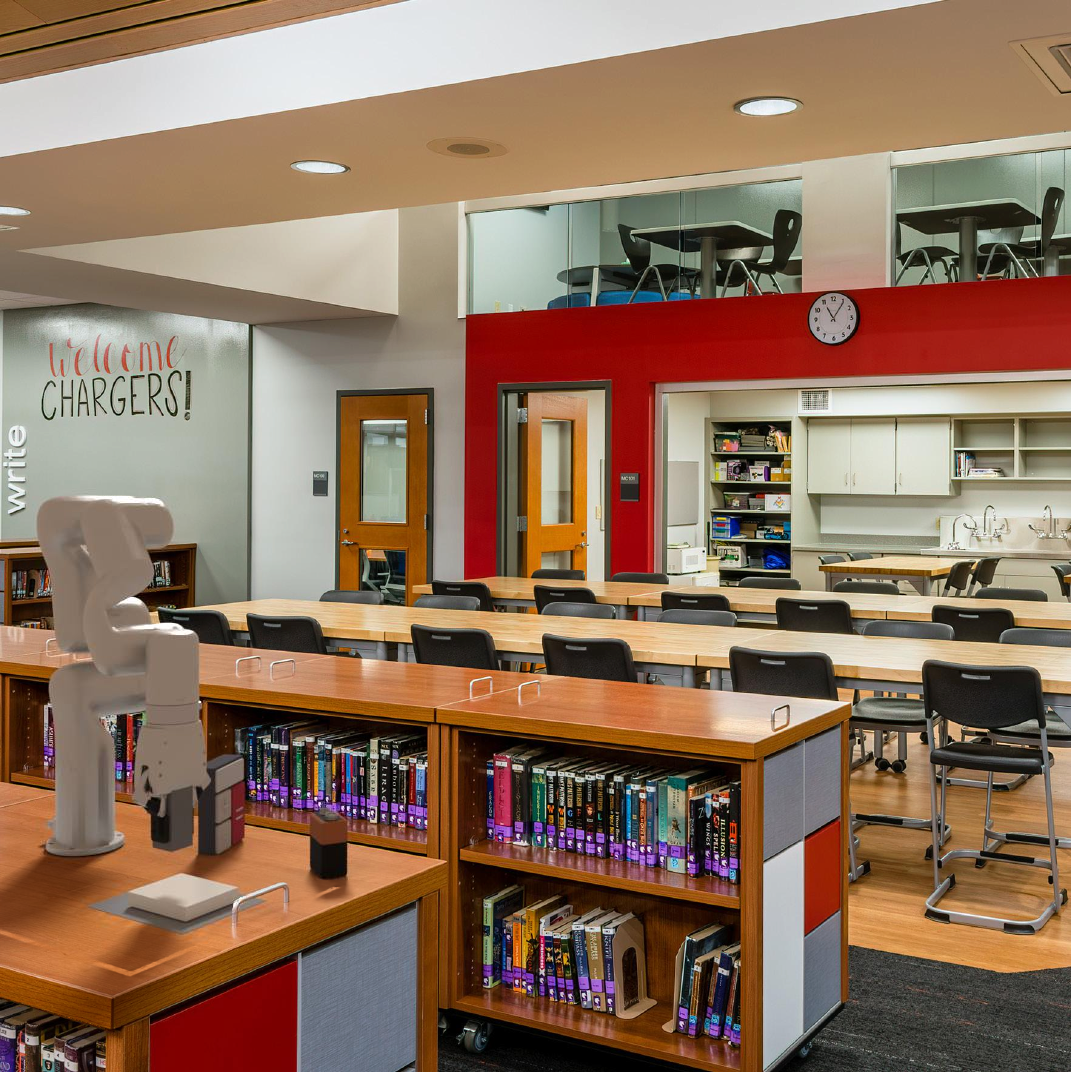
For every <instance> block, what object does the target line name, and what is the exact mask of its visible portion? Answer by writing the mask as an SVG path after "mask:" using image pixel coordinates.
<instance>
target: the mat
mask: <svg viewBox="0 0 1071 1072" xmlns="http://www.w3.org/2000/svg"><path fill="white" fill-rule="evenodd" d="M243 896H246V894H242V893H239V892H238V899H239V898H240V897H243ZM265 902H267V900H266V899H262V898H258V897H255V898H254V899H251V900H248V901H247V902H245V903H243V904H242V905H240V908H239V912H240V913H241V912H242V911H245V910H247V909H250V908H252V907H255V906H256V905H260V904H262V903H265ZM86 907H87V908H90V909H93V910H96V911H100V912H104V913H106V914H111V915H113V916H117V917H120V918H124V919H128V920H131V921H135V922H138V923H141V924H145V925H148V926H152V927H154V928H158V929H163V930H166V931H169V932H173V933H174V934H175V933H176V934H180V935H185V934H188V933H190V932H193V931H196V930H197V929H200V928H203V927H205V926H208V925H210V924H213V923H215V922H218V921H220V920H222V919H225V918H227V917H230V916H233V915H232V908H233V904H231V905H228V906H226V907H223V908H221V909H218V910H216V911H213V912H211V913H208V914H206V915H203V916H200V917H198V918H195V919H193V920H190V921H188V922H184V921H180V920H176V919H173V918H169V917H166V916H162V915H159V914H155V913H152V912H148V911H144V910H141V909H137V908H134V907H132V906H129V905H128V891H127V892H124V893H122V894H118V895H115V896H113V897H109V898H106V899H105V900H101V901H98V902H94V903H92V904H89V905H86ZM239 912H238V913H239Z"/></svg>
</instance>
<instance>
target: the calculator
mask: <svg viewBox="0 0 1071 1072" xmlns="http://www.w3.org/2000/svg"><path fill="white" fill-rule="evenodd" d="M244 767H245V760H244V756H243V755H242V754H226V753H224V754H222V755H220V756H217V757H215V758H213V759H211V760H209V761H206V771H207V773H208V775H209V777H210V778H211V782H210V784H209V785H208V786H207V787H206V788H205V789H204V790H203V792H202V794H201V796H200V797H199V799H198V800H197V801H198V805H197V831H198V832H197V836H198V838H197V854H198V855H205V856H206V855H207V856H215V855H218V854H219V855H220V854H222V853H224V852H225V851H226V849H227V850H228V849H230V848H232V847H233V846H235V845H236V844H237V842H238V843H239V842H241V841H242V840H243V839H244V838H245V835H246V834H245V832H246V831H245V830H246V829H245V828H246V822H245V821H246V818H245V816H246V815H245V814H246V813H245V811H246V808H245V807H246V806H245V805H246V804H245V803H246V799H245V798H246V794H245V792H246V783H245V781H244V778H245V773H244V772H245V768H244ZM234 844H235V845H234ZM232 845H233V846H232ZM224 850H225V851H224ZM223 851H224V852H223Z"/></svg>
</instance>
